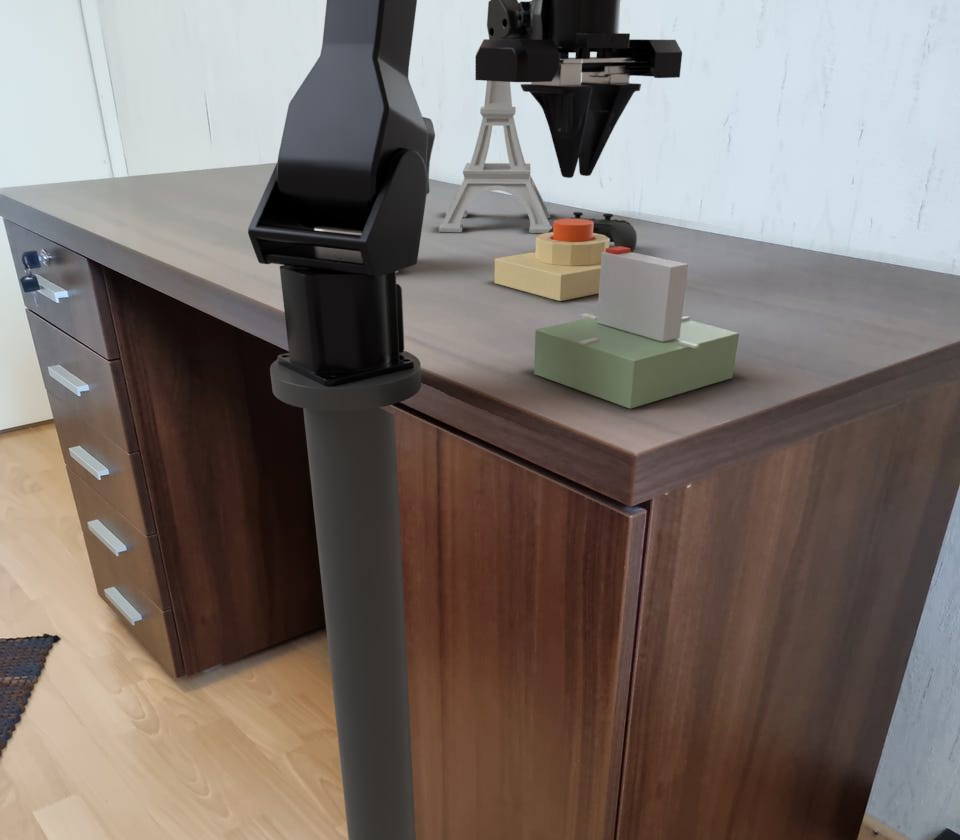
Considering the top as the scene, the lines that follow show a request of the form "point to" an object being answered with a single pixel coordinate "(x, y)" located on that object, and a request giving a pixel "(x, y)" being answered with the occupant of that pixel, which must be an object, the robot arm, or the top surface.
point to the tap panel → (633, 360)
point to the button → (573, 230)
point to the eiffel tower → (498, 166)
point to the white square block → (641, 293)
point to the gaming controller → (612, 230)
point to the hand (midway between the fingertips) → (576, 176)
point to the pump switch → (555, 268)
